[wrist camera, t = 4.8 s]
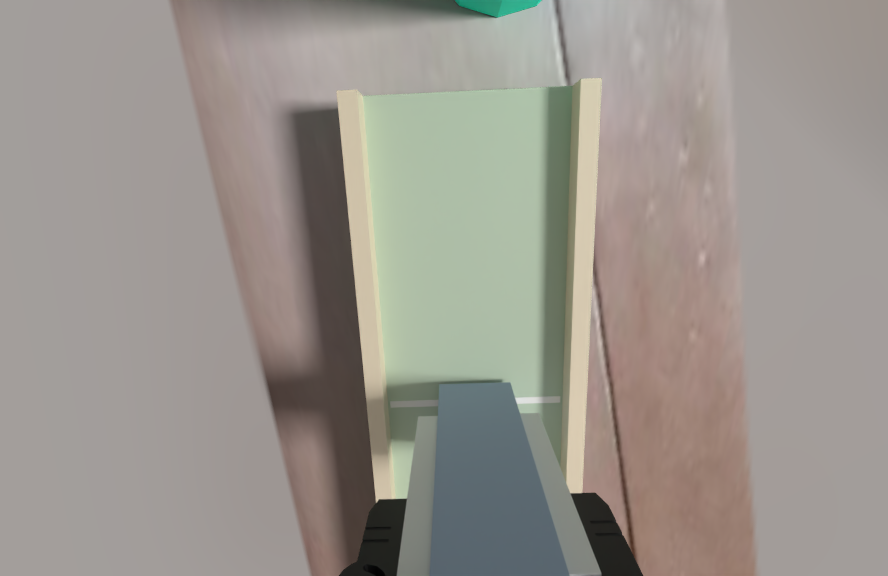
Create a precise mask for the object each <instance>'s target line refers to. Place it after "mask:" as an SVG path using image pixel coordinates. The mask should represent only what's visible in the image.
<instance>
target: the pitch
mask: <svg viewBox="0 0 888 576" xmlns="http://www.w3.org/2000/svg"><path fill="white" fill-rule="evenodd" d="M601 86H602V78H591V79H580V80H579V81H578V82H577V83H575V84H574V85H573V86H560V87H539V88H518V89H497V90H476V91H455V92H434V93H413V94H392V95H371V96H362V95H361V93H360V92H359V91H358V90H341V91H337V101H338V112H339V122H340V133H341V143H342V153H343V164H344V174H345V185H346V195H347V205H348V216H349V226H350V237H351V247H352V257H353V268H354V278H355V289H356V299H357V309H358V320H359V330H360V341H361V351H362V361H363V372H364V382H365V393H366V403H367V413H368V424H369V434H370V445H371V455H372V465H373V476H374V486H375V497H376V503H377V501H378V500H379V499H407V495H408V488H409V481H410V473H411V466H412V458H413V451H414V444H415V436H416V429H417V421H418V417H419V416H438V401H439V384H469V383H501V382H510V383H511V386H512V389H513V393H514V396H515V399H516V402H517V406H518V409H519V412H520V413H539V414H540V417H541V420H542V422H543V425H544V427H545V430H546V432H547V435H548V437H549V440H550V443H551V445H552V448H553V450H554V453H555V455H556V458H557V461H558V463H559V466H560V468H561V471H562V473H563V476H564V479H565V481H566V484H567V486H568V489H569V491H570V493H582V486H583V465H584V444H585V423H586V402H587V381H588V360H589V339H590V317H591V296H592V275H593V254H594V233H595V212H596V191H597V170H598V149H599V128H600V107H601Z"/></svg>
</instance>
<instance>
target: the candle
mask: <svg viewBox="0 0 888 576" xmlns="http://www.w3.org/2000/svg"><path fill="white" fill-rule="evenodd" d="M455 2H456V3H457V4H458V5H459V6H461V7H465V8H468V9H471V10H474V11H478V12H481V13H484V14H487V15H491V16H494V17H497V18H498V17H501V16H504V15H508V14H511V13H514V12H518V11H521V10H524V9H528V8H531V7H535V6H537V5H538V4H539V3H540V2H541V0H455Z"/></svg>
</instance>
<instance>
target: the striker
mask: <svg viewBox="0 0 888 576" xmlns="http://www.w3.org/2000/svg"><path fill="white" fill-rule="evenodd" d="M429 576H570V575H569V572H568V569H567V565H566V562H565V559H564V556H563V552H562V549H561V546H560V543H559V539H558V536H557V533H556V530H555V526H554V523H553V520H552V516H551V513H550V510H549V507H548V503H547V500H546V497H545V494H544V490H543V487H542V484H541V481H540V477H539V474H538V471H537V468H536V464H535V461H534V458H533V455H532V451H531V448H530V445H529V442H528V438H527V435H526V432H525V429H524V425H523V422H522V419H521V416H520V412H519V409H518V406H517V402H516V399H515V396H514V393H513V389H512V386H511V383H510V382H501V383H469V384H439V401H438V420H437V439H436V459H435V478H434V497H433V517H432V536H431V556H430V575H429Z"/></svg>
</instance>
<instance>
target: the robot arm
mask: <svg viewBox="0 0 888 576" xmlns="http://www.w3.org/2000/svg"><path fill="white" fill-rule="evenodd" d="M520 416H521V419H522V422H523V425H524V429H525V432H526V435H527V438H528V442H529V445H530V448H531V451H532V455H533V458H534V461H535V464H536V468H537V471H538V474H539V477H540V481H541V484H542V487H543V490H544V494H545V497H546V500H547V503H548V507H549V510H550V513H551V516H552V520H553V523H554V526H555V530H556V533H557V536H558V539H559V543H560V546H561V549H562V552H563V556H564V559H565V562H566V565H567V569H568V572H569V575H570V576H643V574H642V572H641V570H640V568H639V566H638V564H637V562H636V560H635V558H634V556H633V554H632V552H631V550H630V548H629V546H628V544H627V542H626V540H625V538H624V536H622V532H621V530H620V528H619V526H618V524H617V523H616V520H615V518H614V516H613V514H612V512H611V510H610V508H609V506H608V505H607V504H606V503H605V502H604V501H603V500H602V499H601V498H600V497H599V496H598V495H597V494H596V493H570V491H569V489H568V486H567V484H566V481H565V479H564V476H563V473H562V471H561V468H560V466H559V463H558V461H557V458H556V455H555V453H554V450H553V448H552V445H551V443H550V440H549V437H548V435H547V432H546V430H545V427H544V425H543V422H542V420H541V417H540V414H539V413H520ZM437 420H438V416H419V417H418V421H417V429H416V436H415V444H414V451H413V458H412V466H411V473H410V481H409V488H408V495H407V499H379V500H378V501H377V503H376V504H375V505H374V507H373V508H372V509H371V511H370V512H369V516H368V520H367V524H366V530H365V532H364V536H363V542H362V544H361V548H360V552H359V556H358V560H357V562H356V563H353V564H351V565H350V566H348V567H347V568H346V569H344V570H343V571H342V572H341V574H340V575H339V576H429V575H430V556H431V536H432V517H433V497H434V478H435V459H436V439H437Z"/></svg>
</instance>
